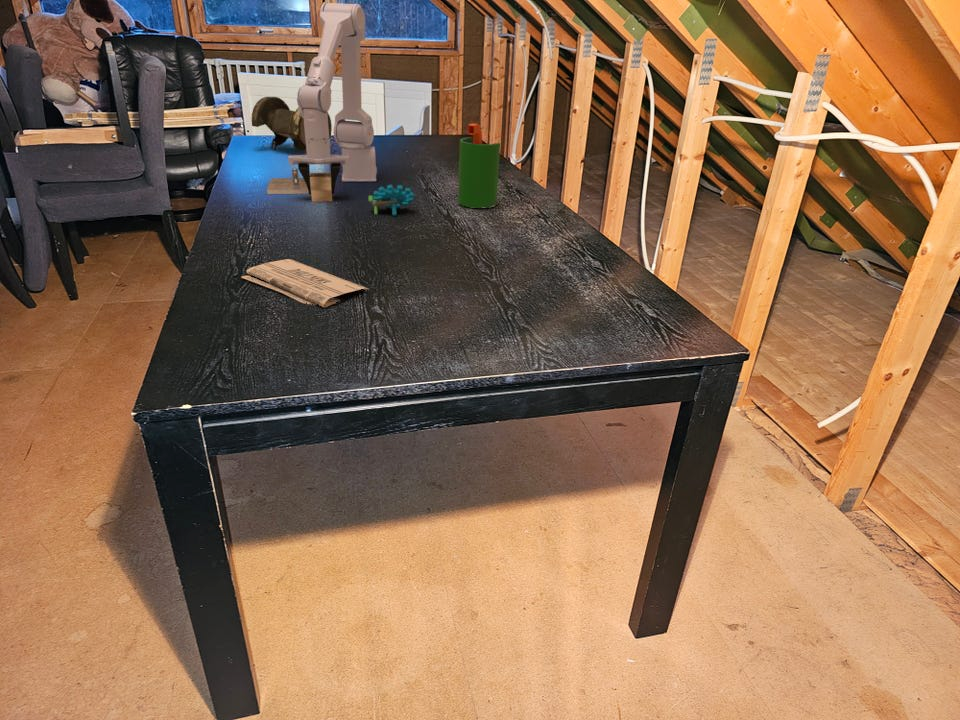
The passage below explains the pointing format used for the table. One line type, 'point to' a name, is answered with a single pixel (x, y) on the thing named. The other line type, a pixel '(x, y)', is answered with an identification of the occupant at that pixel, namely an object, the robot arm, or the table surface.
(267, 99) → the bench grinder
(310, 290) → the newspaper
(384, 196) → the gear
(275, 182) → the base plate
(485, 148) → the green cylindrical container
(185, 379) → the table surface
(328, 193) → the hollow square block
